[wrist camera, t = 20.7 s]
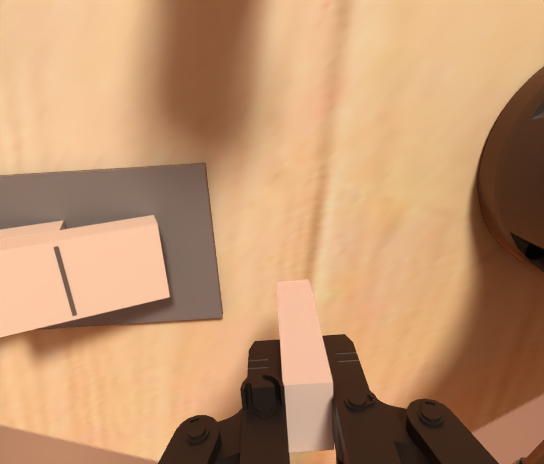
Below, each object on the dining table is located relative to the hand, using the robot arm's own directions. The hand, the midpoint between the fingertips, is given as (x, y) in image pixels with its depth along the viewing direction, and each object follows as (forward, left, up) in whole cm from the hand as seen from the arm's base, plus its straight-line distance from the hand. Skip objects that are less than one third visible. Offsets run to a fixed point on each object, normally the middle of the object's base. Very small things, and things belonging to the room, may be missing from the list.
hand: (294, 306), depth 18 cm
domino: (+8, 0, -7) cm, 11 cm away
